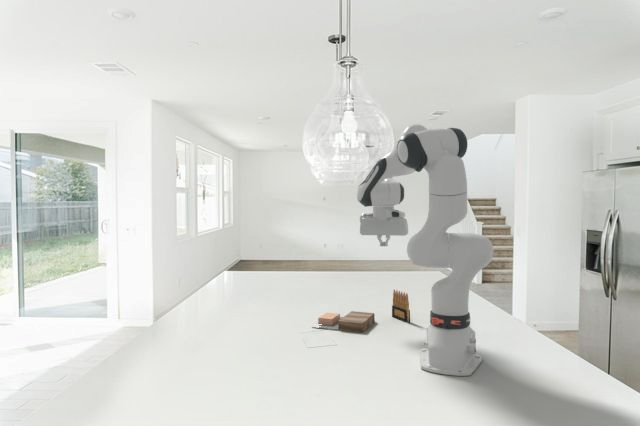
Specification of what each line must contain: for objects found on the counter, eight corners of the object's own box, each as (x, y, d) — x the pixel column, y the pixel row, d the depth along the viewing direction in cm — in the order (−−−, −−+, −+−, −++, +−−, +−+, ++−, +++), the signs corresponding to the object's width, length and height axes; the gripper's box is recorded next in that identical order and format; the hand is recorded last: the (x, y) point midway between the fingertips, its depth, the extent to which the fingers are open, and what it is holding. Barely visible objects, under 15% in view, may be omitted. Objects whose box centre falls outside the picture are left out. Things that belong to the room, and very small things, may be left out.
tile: (318, 317, 169) (318, 323, 169) (331, 319, 167) (332, 325, 167) (326, 312, 177) (326, 318, 177) (339, 313, 175) (339, 319, 175)
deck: (362, 332, 158) (362, 323, 158) (338, 329, 162) (338, 320, 162) (374, 321, 172) (374, 313, 172) (351, 319, 176) (351, 311, 176)
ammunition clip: (410, 322, 171) (410, 293, 170) (406, 322, 170) (406, 293, 170) (395, 316, 180) (395, 288, 180) (391, 316, 180) (391, 289, 179)
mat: (337, 330, 161) (337, 329, 161) (311, 327, 165) (311, 326, 165) (352, 318, 177) (352, 317, 177) (328, 316, 182) (328, 315, 182)
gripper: (357, 213, 175) (357, 246, 176) (405, 213, 167) (406, 247, 167) (361, 213, 181) (362, 245, 181) (408, 212, 173) (409, 246, 173)
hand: (383, 246), depth 174 cm, fingers closed
